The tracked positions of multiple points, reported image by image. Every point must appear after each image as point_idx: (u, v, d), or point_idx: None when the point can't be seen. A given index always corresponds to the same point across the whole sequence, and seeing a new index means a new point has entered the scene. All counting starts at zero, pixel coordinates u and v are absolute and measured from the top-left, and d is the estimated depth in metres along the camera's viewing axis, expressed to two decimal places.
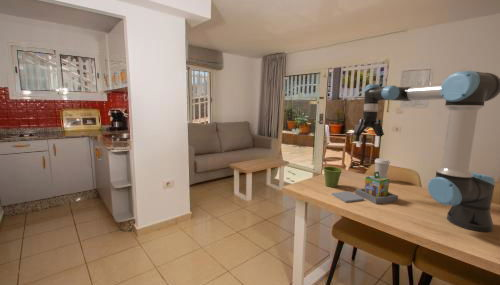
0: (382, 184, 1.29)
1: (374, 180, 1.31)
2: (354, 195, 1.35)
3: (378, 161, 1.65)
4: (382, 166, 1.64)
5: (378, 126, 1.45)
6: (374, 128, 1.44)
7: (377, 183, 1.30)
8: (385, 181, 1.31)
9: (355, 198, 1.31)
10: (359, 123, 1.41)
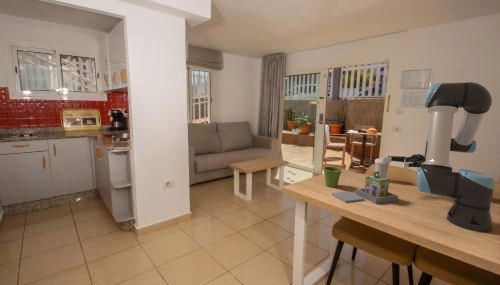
0: (382, 184, 1.29)
1: (374, 180, 1.31)
2: (354, 195, 1.35)
3: (378, 161, 1.65)
4: (382, 166, 1.64)
5: None
6: (413, 162, 1.36)
7: (377, 183, 1.30)
8: (385, 181, 1.31)
9: (355, 198, 1.31)
10: None
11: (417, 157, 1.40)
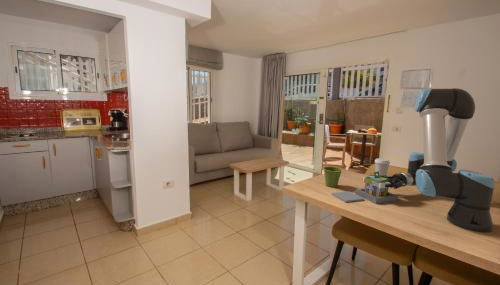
0: None
1: (374, 180, 1.31)
2: (354, 195, 1.35)
3: (378, 161, 1.65)
4: (382, 166, 1.64)
5: None
6: (392, 182, 1.34)
7: (377, 183, 1.30)
8: (385, 181, 1.31)
9: (355, 198, 1.31)
10: None
11: (398, 177, 1.37)
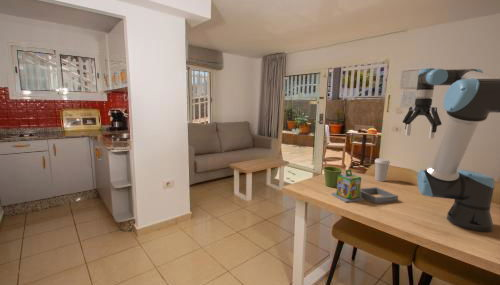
0: (353, 182, 1.28)
1: (345, 178, 1.30)
2: None
3: (378, 161, 1.65)
4: (382, 166, 1.64)
5: None
6: None
7: (348, 181, 1.29)
8: (356, 180, 1.29)
9: (355, 198, 1.31)
10: None
11: (422, 105, 1.29)
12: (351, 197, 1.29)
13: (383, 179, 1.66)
